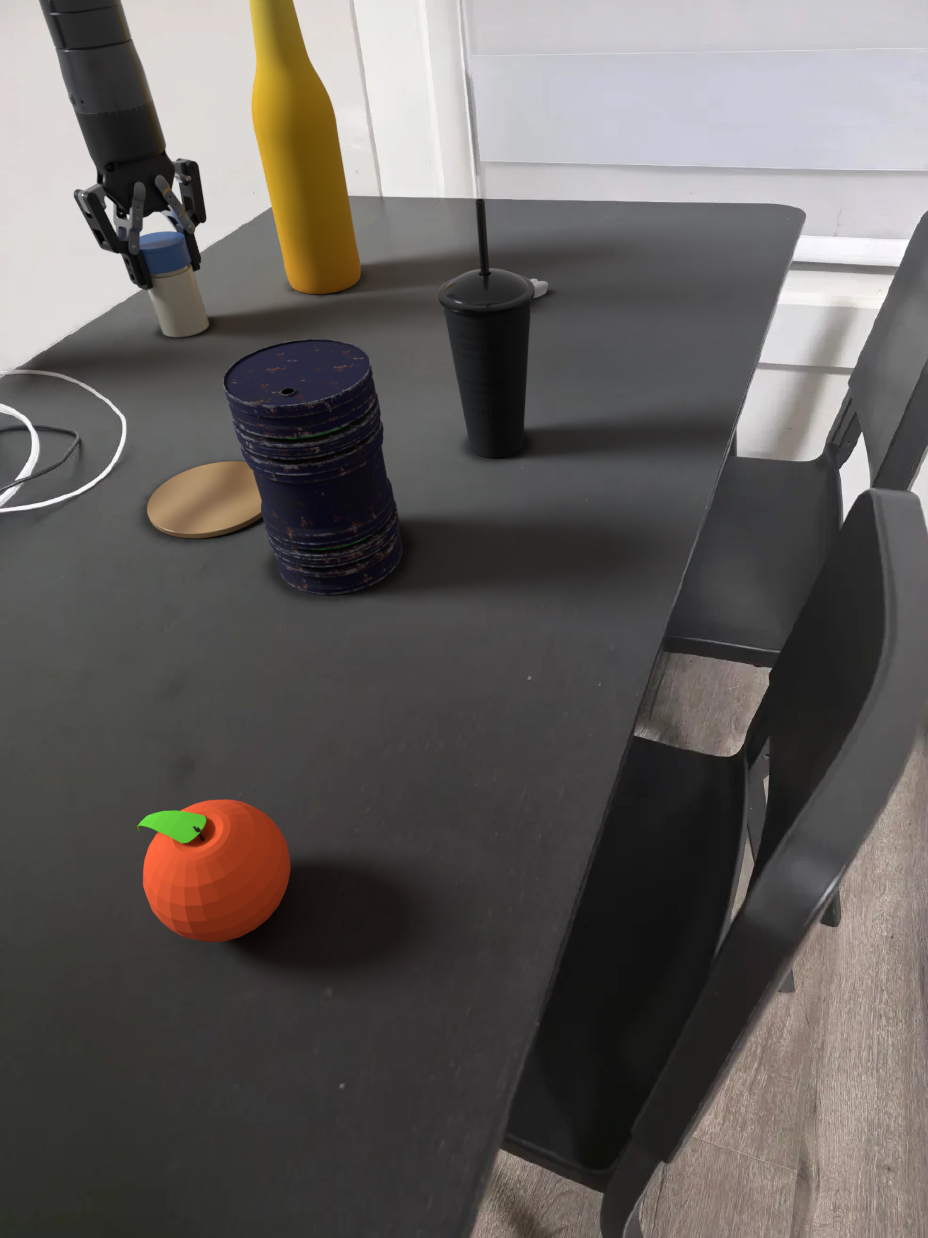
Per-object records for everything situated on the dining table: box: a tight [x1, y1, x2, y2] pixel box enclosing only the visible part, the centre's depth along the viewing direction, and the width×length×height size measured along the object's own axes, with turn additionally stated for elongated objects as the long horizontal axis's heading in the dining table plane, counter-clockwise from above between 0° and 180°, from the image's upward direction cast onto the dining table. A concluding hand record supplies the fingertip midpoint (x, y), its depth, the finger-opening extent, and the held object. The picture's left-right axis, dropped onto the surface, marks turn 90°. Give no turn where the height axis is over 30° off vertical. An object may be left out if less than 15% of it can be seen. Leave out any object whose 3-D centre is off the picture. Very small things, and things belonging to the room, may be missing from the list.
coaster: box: [146, 460, 263, 539], centre depth 72 cm, size 11×11×1 cm
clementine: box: [136, 798, 291, 943], centre depth 42 cm, size 8×7×7 cm
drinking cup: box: [437, 198, 535, 459], centre depth 69 cm, size 8×8×20 cm
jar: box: [147, 264, 210, 338], centre depth 95 cm, size 5×5×9 cm
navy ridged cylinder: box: [222, 338, 403, 596], centre depth 60 cm, size 10×10×15 cm
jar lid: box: [139, 230, 191, 274], centre depth 92 cm, size 6×6×2 cm
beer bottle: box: [248, 0, 362, 295], centre depth 96 cm, size 9×9×29 cm
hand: (169, 277), depth 94 cm, fingers closed on jar lid, 5 cm apart
